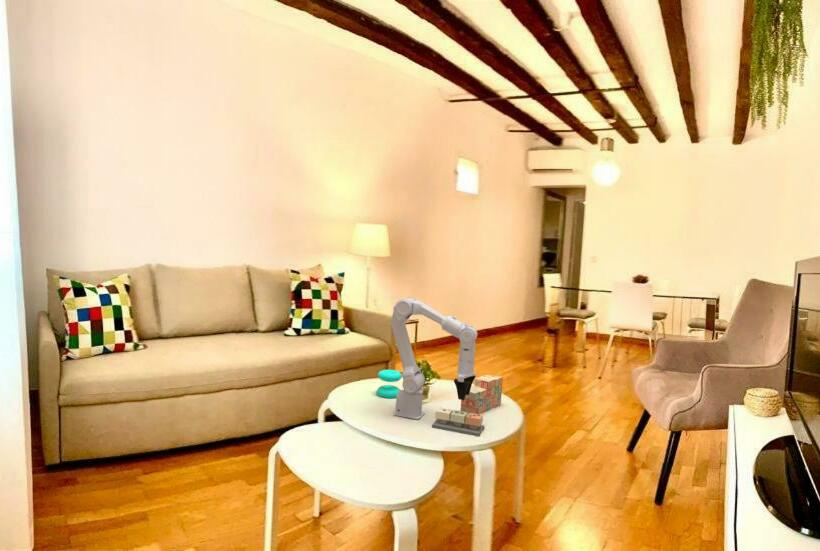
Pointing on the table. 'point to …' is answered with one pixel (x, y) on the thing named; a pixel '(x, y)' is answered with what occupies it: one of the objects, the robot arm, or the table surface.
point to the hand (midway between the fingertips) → (463, 396)
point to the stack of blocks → (483, 395)
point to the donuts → (389, 390)
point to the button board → (458, 427)
